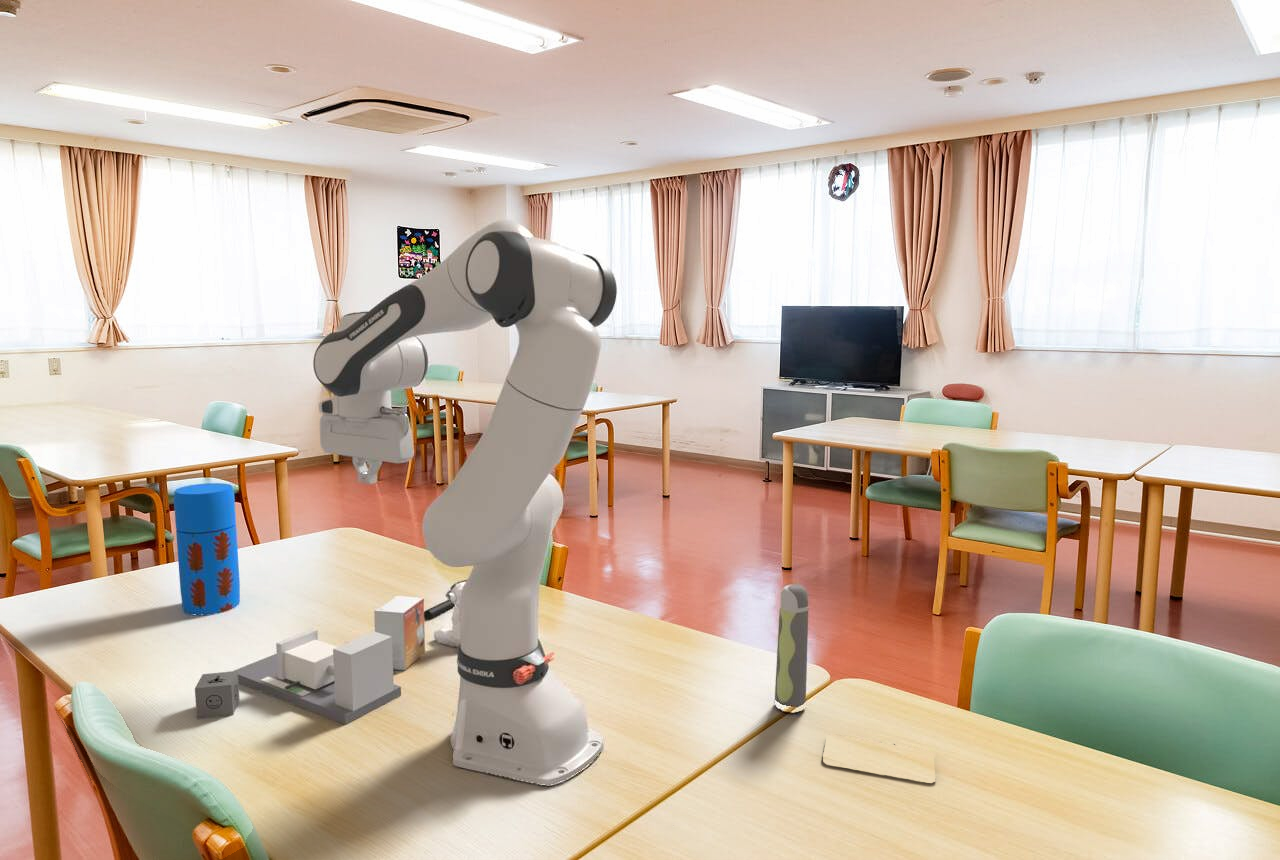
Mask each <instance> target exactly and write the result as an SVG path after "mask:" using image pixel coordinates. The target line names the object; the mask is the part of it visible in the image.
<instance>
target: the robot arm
mask: <svg viewBox="0 0 1280 860" xmlns="http://www.w3.org/2000/svg"><path fill="white" fill-rule="evenodd" d="M617 289H618V288H617V280H616V278H615V275H614V273H613V272H612V270H611V268H609V266H607V265H606V264H605V263H604V262H602V260H600V259H597V258H596V257H594V256H592V255H590V254H586V253H585V254H584V253H581V252H579V251H576V250H574V249H571V248H568V247H565V246H563V245H561V244H560V243H558V242H556V241H552V240H550V239H549V240H548V239H545V238H544V239H543V238H540V237H535V236H534V235H533V234H532V233H531V231H530V230H529V229H528V228H526V227H525V226H523V225H522V224H520V223H518V222H516V221H513V220H509V219H500V220H496V221H493V222H491V223H489V224H488V225H486V226H484V227H483V228H481V229H480V230H478V231H476V232H475V233H474V234H472V235H471V236H470V237H468V238H467V239H466V240H465V241H463V243H460V245H459V246H458V247H456V248H455V250H454V251H452V253H451V254H449V255H448V256H447V257H446V258H445V259H444V260H443V261H441V262H440V263H439V264H437V265H436V266H434V268H432V269H431V270H430V271H427V272H426V273H425V274H424V275H422V276H421V277H419V278H417V279H416V280H414V281H411V282H410V283H408V284H407V285H404V286H403V287H401V288H399V289H398V290H395V292H393V293H391V294H389V295H388V296H387V297H385V298H384V299H383V300H381V301H380V302H379V303H378V304H376V305H375V306H374V307H372V308H371V309H370V310H368V311H360V312H359V311H357V312H351V313H347V314H344V315H343V316H341V317H340V319H339V321H338V326H337V331H335V332H330V333H329V334H327V335H326V336H325V337H324V338H323V339H322V340H321V342H320V343H319V345H318V346H317V348H316V350H315V352H314V355H313V363H312V364H313V370H314V375H315V377H316V379H317V380H318V382H320V384H321V385H322V386H323V387H324V388H325V389H327V390H328V391H329V392H330V393H332V394H333V395H334V396H332V397H329V398H326V399H324V400H321V401H319V403H318V411H319V413H320V414H322V415H321V416H320V419H319V438H320V439H319V440H320V441H319V442H320V446H321V449H322V450H323V451H324V453H326V454H333V455H339V456H346V457H352V465H353V466H354V468H355V470H356V472H357V479H358V482H360V483H364V484H370V485H372V484H376V483H378V473H379V470H380V469H381V466H382V464H383V463H382V462H385V463H393V464H402V463H403V464H404V463H407V462H410V461H412V459H413V458H414V455H415V448H414V447H415V446H414V438H413V433H412V427H411V424H410V420H409V419H410V418H409V416H408V415H407V414H406V412H404V410H403V409H401V408H393V407H392V391H400V390H401V391H402V390H407V389H411V388H415V387H418V386H419V385H420V384H421V383H422V382H423V381H424V379H425V377H426V375H427V372H428V367H429V366H428V365H429V359H428V357H429V356H428V352H427V349H426V347H425V345H424V343H423V342H422V341H421V339H420V338H419V337H418V336H422V335H432V334H439V333H441V334H442V333H451V332H452V333H454V332H463V331H469V330H473V329H475V328H478V327H480V326H482V325H485V324H486V323H488V322H490V321H492V320H494V321H495V323H496V324H497V325H498V326H499V327H500V328H508V327H511V326H514V325H515V328H516V330H517V333H518V346H517V348H516V352H515V354H514V358H513V360H512V362H511V364H510V367H509V370H508V372H507V375H506V377H505V381H504V382H503V385H502V388H501V390H500V393H499V396H498V398H497V401H496V403H495V406H494V409H493V411H492V413H491V417H490V420H489V421H488V424H487V425H486V428H485V430H484V431H483V433H482V435H481V437H480V438H479V440H478V442H477V444H475V447H473V449H472V451H471V452H470V454H469V456H468V457H467V458H466V460H465V462H464V463H463V465H462V466H461V468H460V469H459V471H458V472H457V474H456V475H455V477H454V478H453V479H452V481H451V482H450V483H449V485H448V486H447V487H446V489H444V491H442V493H440V495H439V496H438V497H436V498H435V499H434V500H433V501H432V502H431V503H430V504H429V505H428V507H427V509H426V511H425V513H424V515H423V518H422V524H421V525H422V528H421V529H422V535H423V540H424V542H425V545H426V547H427V548H428V550H429V552H430V554H431V555H432V556H433V557H434V558H435V559H436V560H437V561H438V562H440V563H442V564H443V565H445V566H447V567H452V568H463V567H464V568H465V567H471V566H472V569H471V571H470V574H469V575H468V578H467V579H466V580H467V581H466V583H465V584H464V586H463V588H462V591H461V595H460V644H459V646H458V648H457V658H456V664H457V673H458V675H459V677H460V679H459V691H458V700H457V701H458V702H457V710H456V715H455V716H456V717H455V721H454V726H453V729H452V732H451V736H450V745H451V747H452V749H453V753H452V764H453V766H455V767H458V768H463V769H467V770H470V771H476V772H481V773H484V772H485V774H488V773H491V774H490V775H493V774H494V775H493V776H497V775H499V776H498V777H502V776H505V777H504V778H506V777H509V778H508V779H511V778H515V779H518V780H517V781H520V780H523V781H522V782H524V781H528V782H527V783H529V782H533V783H539V784H545V785H550V786H552V785H551V784H554V785H556V784H555V783H558V782H560V781H563V780H566V779H567V778H569V777H571V776H572V775H574V774H576V773H577V772H579V771H581V770H582V769H583V768H585V767H586V766H587V765H588V764H590V762H592V761H593V760H594V759H595V758H596V757H597V755H598V754H599V753H600V752H601V753H602V751H603V749H602V748H604V745H603V741H604V736H603V734H601V733H599V732H597V731H595V729H592V728H590V727H588V720H587V714H586V710H585V707H584V705H583V703H582V702H581V701H580V699H578V698H577V697H576V696H575V695H574V693H573V692H572V690H570V689H569V688H567V687H566V686H565V685H564V683H562V682H561V680H559V678H557V677H556V676H555V674H554V673H553V672H552V671H551V670H550V669H549V668H550V667H549V663H550V662H552V661H554V659H555V658H554V657H553V656H554V654H555V652H554V651H553V652H550V653H549V654H546V655H545V651H544V648H543V646H542V643H541V641H540V639H539V597H540V596H539V595H540V587H541V580H542V574H543V572H544V571H543V569H544V566H545V561H546V557H547V552H548V548H549V544H550V539H551V536H552V534H553V531H554V528H555V526H556V523H557V522H558V521H559V519H560V517H561V515H562V512H563V511H564V510H563V509H564V502H565V501H564V493H563V489H562V488H561V485H560V484H559V482H558V480H557V479H556V478H555V477H554V476H553V474H551V473H552V471H553V469H555V467H557V466H558V464H560V462H561V461H562V459H563V458H564V456H565V454H566V452H567V449H568V447H569V444H570V442H571V440H572V437H573V435H574V432H575V429H576V428H577V425H578V423H579V420H580V417H581V415H582V412H583V410H584V407H585V405H586V403H587V400H588V398H589V395H590V392H591V389H592V385H593V382H594V378H595V376H596V372H597V368H598V363H599V357H600V352H601V349H602V348H601V347H602V346H601V345H602V340H601V336H600V334H599V332H598V330H597V329H596V328H597V327H598V326H600V325H602V324H604V322H606V320H607V319H608V318H609V317H610V315H611V314H612V311H613V310H614V307H615V304H616V300H617V294H618V293H617V292H618V290H617ZM601 750H602V751H601ZM601 753H600V754H601ZM600 754H599V755H600ZM597 758H598V757H597ZM597 758H596V759H597ZM596 759H595V760H596ZM595 760H594V761H595ZM594 761H593V762H594ZM593 762H592V763H593ZM590 765H591V764H590ZM586 768H587V767H586ZM586 768H585V769H586ZM581 772H582V771H581ZM515 779H514V780H515ZM566 781H567V780H566ZM563 782H564V781H563ZM533 783H532V784H533ZM558 784H559V783H558Z"/></svg>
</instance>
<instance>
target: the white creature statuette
mask: <svg viewBox="0 0 1280 860" xmlns="http://www.w3.org/2000/svg"><path fill="white" fill-rule="evenodd" d="M465 583H466V582H462V583H459V584H456V585H455V587H454V588H453V589H452V590H451V593H450V592H449V593H448V595H449V600H451V601H452V602H453V603H454V605H456V606H454V608H453V611H452V614H451V623H452V627H451V629H452V630H451V629H450V628H448V627H447V628H444V627H440V628H439V629H437V630H435V631H434V632H433V638H434V640H435V641H436V642H437V643H438V644H443V645H446V646H450V647H454V648H457V649H458V646H459V644H460V595H461V591H462V588H463V586H464V584H465Z"/></svg>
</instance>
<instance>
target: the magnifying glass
mask: <svg viewBox="0 0 1280 860" xmlns="http://www.w3.org/2000/svg"><path fill="white" fill-rule="evenodd" d="M466 581H467V579H464V580H461V581H458V582H455V583H454V584H452V585H451V586H450V589H449V591H450V592H449V593H451V590H452V589H453V588H454V587H455V585H456V584H459V583H462V582H466ZM454 606H455V605H454V603H453V602H452V601H451V600H450V599H447V600H444V601H443V602H441V603H438V604H437V605H434V606H432V607H430V608H428V609H426V610H424V620H430V621H431V620H433V619H435V618H437V617H439V616H441V615H443V614H445V613H447V612H448V610H449V611H451V610H452V608H453V607H454ZM450 609H451V610H450ZM453 609H454V608H453ZM446 611H447V612H446Z"/></svg>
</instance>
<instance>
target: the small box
mask: <svg viewBox="0 0 1280 860" xmlns="http://www.w3.org/2000/svg"><path fill="white" fill-rule="evenodd" d="M424 601H425V599H424V597H416V596H405V595H395V596H394V597H393V598H392V599H391V600H389V601H387V602H386V603H385V604H383V605H382V606H380V607H379V608H377V609H375V610H373V611H374V612H373V613H374V616H373V617H374V632H378V633H381V634H384V635H388V636H391V637H392V653H393V670H397V671H406V670H407V669H408V668H409V667H410V666H412V665H413V663H415V662H416V661H417V660H418V659H419V658H421V657H422V656H423V655H425V653H426V643H425V642H426V639H425V638H426V637H425V618H424V611H425V602H424Z"/></svg>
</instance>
